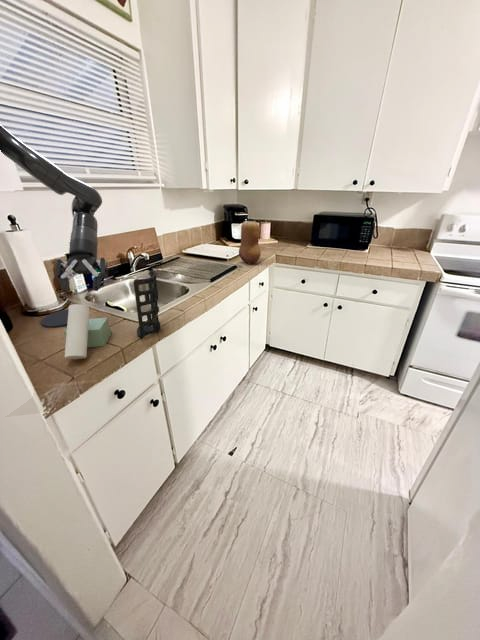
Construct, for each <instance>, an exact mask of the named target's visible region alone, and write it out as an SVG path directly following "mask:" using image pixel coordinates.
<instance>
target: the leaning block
mask: <svg viewBox="0 0 480 640" xmlns="http://www.w3.org/2000/svg"><path fill="white" fill-rule="evenodd" d="M63 333H64V335H65V337H66V334H67V328H66V329H65V331H64V332H63ZM112 333H113V332H112V329H111V325H110V321H109V317H94V318H89V323H88V339H87V348H96V347H105V346H106V345H107V343H108V340H109V339H110V338H111V335H112Z"/></svg>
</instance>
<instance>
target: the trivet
mask: <svg viewBox="0 0 480 640" xmlns="http://www.w3.org/2000/svg"><path fill="white" fill-rule="evenodd" d="M68 311H69V308H68V309H63V310H57V311H55V312H51V313H50V314H47V315H46V316H44V317H43V318H42V319H41V320H40V324H41V326H42V327H45V328H53V329H54V328H60V327H67V322H68Z"/></svg>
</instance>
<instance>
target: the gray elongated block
mask: <svg viewBox="0 0 480 640" xmlns="http://www.w3.org/2000/svg"><path fill="white" fill-rule="evenodd" d="M68 309H69V311H68V322H67V325H66V329H67V334H66V336H65V346H64V347H65V348H64V358H65V359H67V360H82V359H86V358H87V355H88V347H87V339H88V323H89V319H90V307H89V306H88V305H86V304H80V303H74V304H70V305H69V306H68Z"/></svg>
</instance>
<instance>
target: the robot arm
mask: <svg viewBox="0 0 480 640" xmlns="http://www.w3.org/2000/svg"><path fill="white" fill-rule="evenodd" d="M0 125H1V126H0V150H1V152H2V153H3V154H4V155H3V154H2V153H1V154H2V155H3V156H5V157H6V158H8V159H9V160H11V161H12V163H14V164H16V165H17V166H18V167H20V168H21V169H22V171H23V170H24V172H25V173H27V174H29V175H30V176H31V177H32V178H33V179H35V180H37V181H38V182H39V183H41V184H42V185H43V186H45V187H46V188H48V189H49V190H51V191H52V192H54V193H55V194H56V195H59V196H63V195H66V194H67V193H68V194H70V195H71V196H74V198H73V199H72V202H71V215H72V228H71V232H70V239H69V250H68V257H69V258H68V259H67V260H62V259H57V260H56V265H55V271H54V277H55V278H56V279H58V280H59V281H61V282H60V289H61V290H62V291H63V292H64V293H70V281H71V279H72V278H74V277H76V276H77V275H83V274H84V275H89V274H92V275H93V276H94V277H93V279H92V280H93V281H92V289H93V291H95V292H99V290H101V283H102V282H101V280H103V279H107V278H108V276H109V274H108V262H107V259H105V258H104V257H101V258H99V259H98V246H99V243H98V242H99V241H98V240H99V239H98V238H99V237H98V229H99V228H98V227H99V225H98V223H99V222H98V220H97V218H96V217H95V214H96V212H97V211H98V209H100V207H101V206H102V203H103V198H102V196H101V194H100V193H99V191H97V189H95V188H94V187H93V186H92V185H90V184H88V183H86V182H83V181H81V180H79V179H77V178H75V177H74V176H71V175H69V174H67V173H66V172H65V171H64V170H63V169H61V168H60V167H58V166H57V165H56V164H54V163H53V162H52V161H50V160H49V159H48V158H46V157H45V156H43V155H42V154H40V153H39V152H37V151H36V150H34V149H32V148H31V147H30V146H28V145H27V144H25V143H24V142H22V141H21V140H20V139H19V138H18V137H16V136H15V135H13V134H12V133H11V132H10V131H9V130H7V129H6V128H5V127H4V126H3V125H2V124H1V123H0ZM98 265H99V267H100V270H99V271H100V272H99V273H98V271H97V270H96V269H95V268H97V266H98Z"/></svg>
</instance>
